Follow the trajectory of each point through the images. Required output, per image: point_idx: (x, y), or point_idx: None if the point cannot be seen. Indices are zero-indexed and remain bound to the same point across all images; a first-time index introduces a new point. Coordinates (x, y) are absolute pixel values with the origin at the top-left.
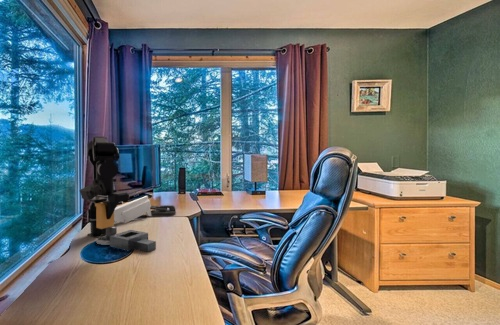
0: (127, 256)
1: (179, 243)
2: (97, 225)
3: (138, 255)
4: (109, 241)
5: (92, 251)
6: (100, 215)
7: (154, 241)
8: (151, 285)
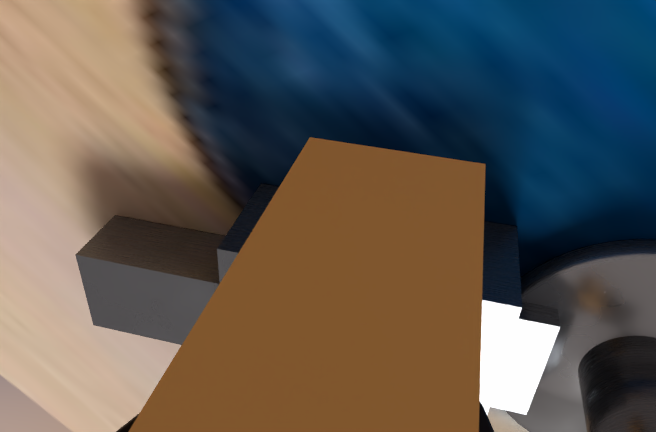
0: (167, 88)
1: (95, 390)
2: (446, 186)
3: (113, 138)
4: (592, 311)
5: (626, 79)
6: (257, 343)
7: (96, 319)
8: None
